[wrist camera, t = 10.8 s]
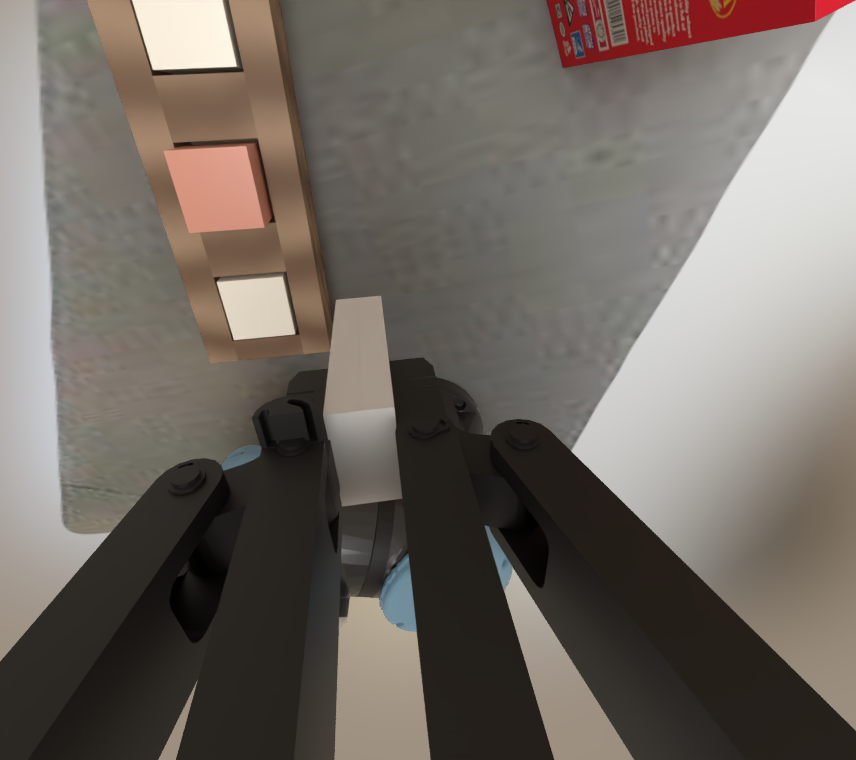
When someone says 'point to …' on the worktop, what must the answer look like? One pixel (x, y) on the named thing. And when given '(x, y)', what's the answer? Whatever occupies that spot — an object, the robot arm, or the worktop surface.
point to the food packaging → (667, 23)
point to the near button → (189, 35)
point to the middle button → (220, 186)
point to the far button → (258, 305)
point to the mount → (221, 124)
